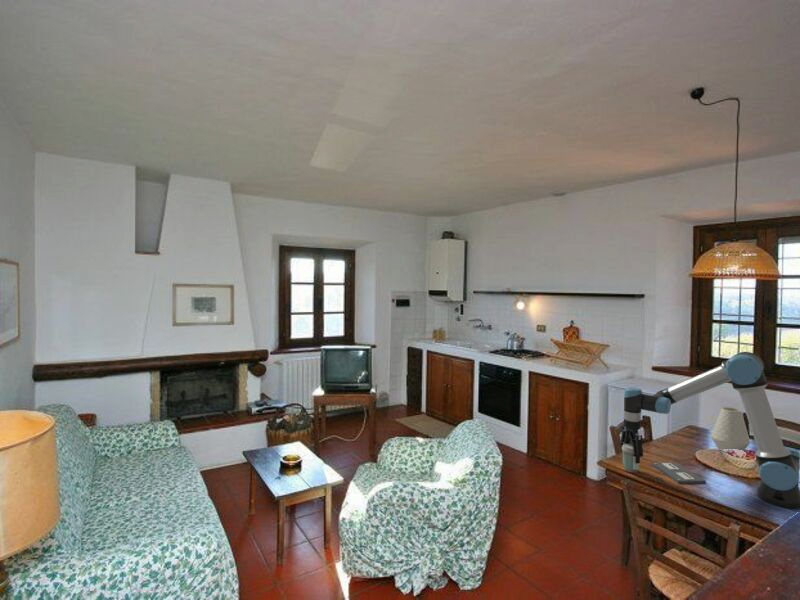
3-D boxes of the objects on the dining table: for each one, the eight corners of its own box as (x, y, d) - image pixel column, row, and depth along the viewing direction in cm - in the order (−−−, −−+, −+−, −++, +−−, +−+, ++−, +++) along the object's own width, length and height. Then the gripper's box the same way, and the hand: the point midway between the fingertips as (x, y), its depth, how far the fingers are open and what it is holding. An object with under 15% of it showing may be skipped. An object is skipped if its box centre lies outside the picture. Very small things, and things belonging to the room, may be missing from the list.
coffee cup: (643, 474, 213) (643, 450, 212) (623, 473, 215) (624, 448, 214) (637, 467, 221) (638, 443, 221) (618, 465, 223) (619, 442, 223)
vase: (747, 459, 233) (749, 416, 232) (707, 450, 245) (709, 409, 244) (751, 450, 246) (753, 409, 245) (713, 442, 258) (715, 403, 257)
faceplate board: (705, 483, 205) (705, 479, 205) (678, 483, 205) (678, 480, 205) (677, 465, 225) (677, 462, 225) (652, 465, 225) (652, 462, 224)
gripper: (652, 426, 206) (651, 474, 207) (627, 413, 228) (626, 456, 229) (637, 426, 206) (635, 474, 207) (613, 413, 227) (612, 456, 228)
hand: (630, 465), depth 218 cm, fingers closed on coffee cup, 8 cm apart
